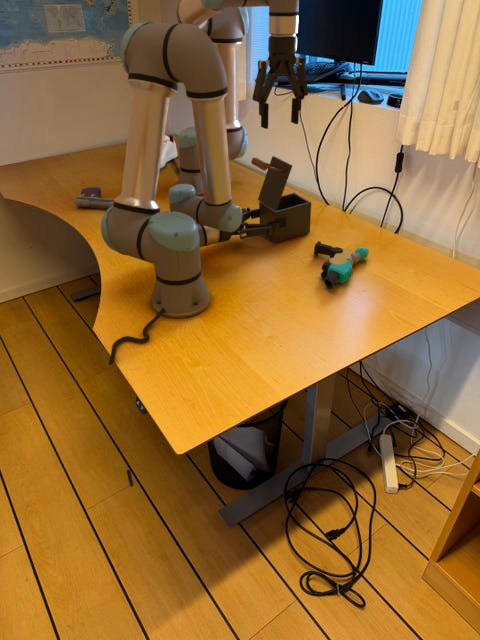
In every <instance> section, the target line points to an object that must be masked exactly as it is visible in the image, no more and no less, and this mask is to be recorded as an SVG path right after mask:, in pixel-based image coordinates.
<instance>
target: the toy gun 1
mask: <svg viewBox="0 0 480 640" xmlns="http://www.w3.org/2000/svg"><path fill="white" fill-rule="evenodd" d="M114 199H115V198H105V197H103V198H102V189H101V187H100V186H86V187H84V188H82V189H81V191H80V195H79V196H77V197H76V199H75V202H74V204H75V205H76V207H80V208H81V207H82V208H92V209H93V208H94V209H106V210H108V209H109V208H110V207H112V206H113V204H114Z"/></svg>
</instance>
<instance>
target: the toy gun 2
mask: <svg viewBox="0 0 480 640" xmlns="http://www.w3.org/2000/svg"><path fill="white" fill-rule="evenodd" d="M369 253H370V249H369V248H368V247H366V246H359V247H357V248H356V249H354V252H352V251H351V249H348V248H344V247H339V246H332V245H328V244H325V243H322V242H321V241H319V240H318V241H317V242H316V243H315V245H314V248H313V255H314V256H316V257H317V256H318V255H323V256H329V259H328V260H327V261H325V262H324V263H323V264H322V265H321V270H322V272H321V273H320V277H321V278H322V279H324V281H323V283H324V285H325V287H326V288H327V289H329V290H334V289H333V288H334V287H335V286H337V284H338V282H339V283H340V284H344V283H346V282H347V281H349V279H350V278H351V277H352V275H353V265H355V264H357V263H358V262H359V261H364V260H365V259H367V257H368V256H369Z"/></svg>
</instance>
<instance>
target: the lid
mask: <svg viewBox="0 0 480 640" xmlns="http://www.w3.org/2000/svg"><path fill="white" fill-rule="evenodd" d="M250 162H251V165H253V166H255V167H256V168H259V169H260V170H261V171H264V172H265V171H267V172H266V173H265V176H264V180H263V182H262V185H261V189H260V191H259V195H258V197H257V200H258V201H259V202H262V203H263V204H265V205H266V206H268V207H269V208H271V209H272V210H274V211H277V208H278V205H279V202H280V199H281V197H282V196H283V195H284V194H283V193H284V191H285V189H286V186H287V183H288V179H289V177H290V174H291V171H292V168H293V165H292V164H291V163H288V161H285V160H283V159H282V158H279V157H278V156H276V155H275V156H274V155H272V156H271V159H270V163H268V162H265V161H263V160H261V159H260V158H258V157H252V158H251V161H250Z"/></svg>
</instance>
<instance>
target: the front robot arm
mask: <svg viewBox="0 0 480 640" xmlns="http://www.w3.org/2000/svg"><path fill="white" fill-rule="evenodd" d="M119 49H120V51H119V56H120V57H119V58H120V62H121V63H122V68H123V70H124V72H125V73H126V74H127V75H128V76H127V83H128V85H129V86H130V88H131V89H132V100H131V107H130V115H129V116H130V117H129V125H128V133H127V139H126V140H127V141H126V148H125V156H124V157H125V158H124V165H123V174H122V182H121V183H122V184H121V192H120V193H119V195H118V196H116V197H115V198H113V199H114V204H113V206H112V207H110V208H109V209H106V211H105V212H106V213H104V214H103V215H102V218H101V221H100V233H101V237H102V239H103V241H104V243H105V244H106V246H107V247H108V248H109V249H110V250H112V251H114V252H117V253H118V254H120V255H122V256H128V257H131V258H134V259H137V260H140V261H143V262H147V263H150V264H152V265H153V268H154V274H155V275H154V276H155V281H154V284H153V290H152V294H151V305H152V308H153V310H154V311H155V312H156V313H157V314H156V315H155V316H154V317H153V318H152V319H151V320H149V322H148V323H147V324H146V325H145V326H144V327H143V329H142V335H143V336H144V337H143V338H139V337H134V336H129V335H126V336H122V337H119V338H118V339H117V340H115V341H114V342H113V344H112V347H111V350H110V351H111V352H110V356H109V361H108V365H109V366H112V365H113V364H114V361H115V357H116V352H117V348H118V345H119V344H121V343H122V342H125V341H131V342H134V343H139V344H143V343H146V342H148V341H149V339H150V335H149V333H148V330H149V329H150V328H151V327H152V326H153V325H154V324H155V323H156V322H157V321H158V320H159V319H160V318H161V316H163V317H167V318H171V319H183V318H185V319H186V318H190V317H194V316H196V315H199V314H201V313H202V312H204V311H205V310H207V308H208V307H209V306H210V303H211V294H210V290H209V288H208V286H207V284H206V281H205V278H204V277H203V275H202V262H201V261H202V259H201V248H203V247H209V246H211V245H215V244H220V243H224V242H225V243H226V242H228V241H230V239H232V236H239V239H240V240H243V239H244V240H245V239H248V238H255V237H266V236H265V235H271V230H274V229H278V228H282V227H286V222H287V218H282V219H278V220H273V221H269V222H268V224H260V223H248V222H247V221H248V220H250V219H252V220H253V219H257V218H259V208H254V209H251V207H246V208H245V207H243V208H241V206H240V205H237V204H235V203H233V197H232V184H231V183H232V182H231V172H230V160H229V157H228V144H227V132H226V119H225V106H224V97H225V96H226V95H227V93H228V88H227V78H226V73H225V68H224V65H223V62H222V59H221V57H220V55H219V52H218V50H217V48H216V46H215V45H214V43H213V42H212V40H211V39H210V38H209V36H208V35H207V34H206V33H205V32H204V31H202V30H201V29H200V28H198V27H196V26H194V25H191V24H185V23H182V24H179V23H172V22H157V21H156V22H155V21H146V22H138V23H134V24H132V26H130V27H129V28H128V29H127V30H126V32H125V33H124V35H123V37H122V39H121V43H120V48H119ZM179 83H181V84H183V86H184V87H185V93H186V95H185V96H186V98H187V99H189V100H190V101H191V107H192V108H191V109H192V115H193V123H194V126H195V132H196V140H197V148H198V156H199V164H200V172H201V180H202V188H203V196H196V192H195V188H194V187H193V186H192V185H189V184H178V183H177V184H178V185H177V184H175V185H173V186H171V187H169V189H168V204H169V210H165V211H161V206H160V205H159V203H158V201H157V200H156V199H157V192H158V184H159V178H160V170H161V168H160V164H161V157H162V150H163V143H164V136H165V135H166V129H167V128H166V127H167V120H168V115H169V105H170V100H171V99H172V98H173V97H175V96H176V95H177V94H178V90H179V89H178V88H179ZM125 471H126V475H127V479H128V484H129V487H131V488H133V487H134V481H133V476H132V471H131V469H125Z"/></svg>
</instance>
